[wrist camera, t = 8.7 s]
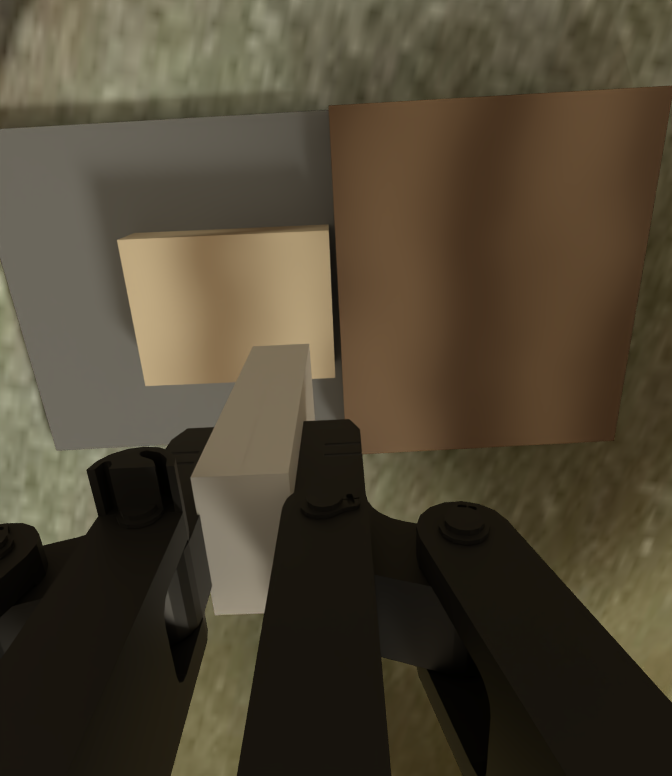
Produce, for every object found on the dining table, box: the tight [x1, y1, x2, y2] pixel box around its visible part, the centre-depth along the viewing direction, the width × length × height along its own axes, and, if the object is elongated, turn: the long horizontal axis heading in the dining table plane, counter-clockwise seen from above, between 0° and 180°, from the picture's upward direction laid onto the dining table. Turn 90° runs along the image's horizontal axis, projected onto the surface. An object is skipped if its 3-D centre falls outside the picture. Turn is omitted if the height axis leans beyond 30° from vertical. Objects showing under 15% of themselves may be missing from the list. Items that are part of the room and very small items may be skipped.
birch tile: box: [117, 224, 335, 386], centre depth 23 cm, size 8×6×2 cm
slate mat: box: [0, 110, 345, 451], centre depth 24 cm, size 14×14×1 cm
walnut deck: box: [329, 86, 672, 454], centre depth 23 cm, size 12×14×2 cm
